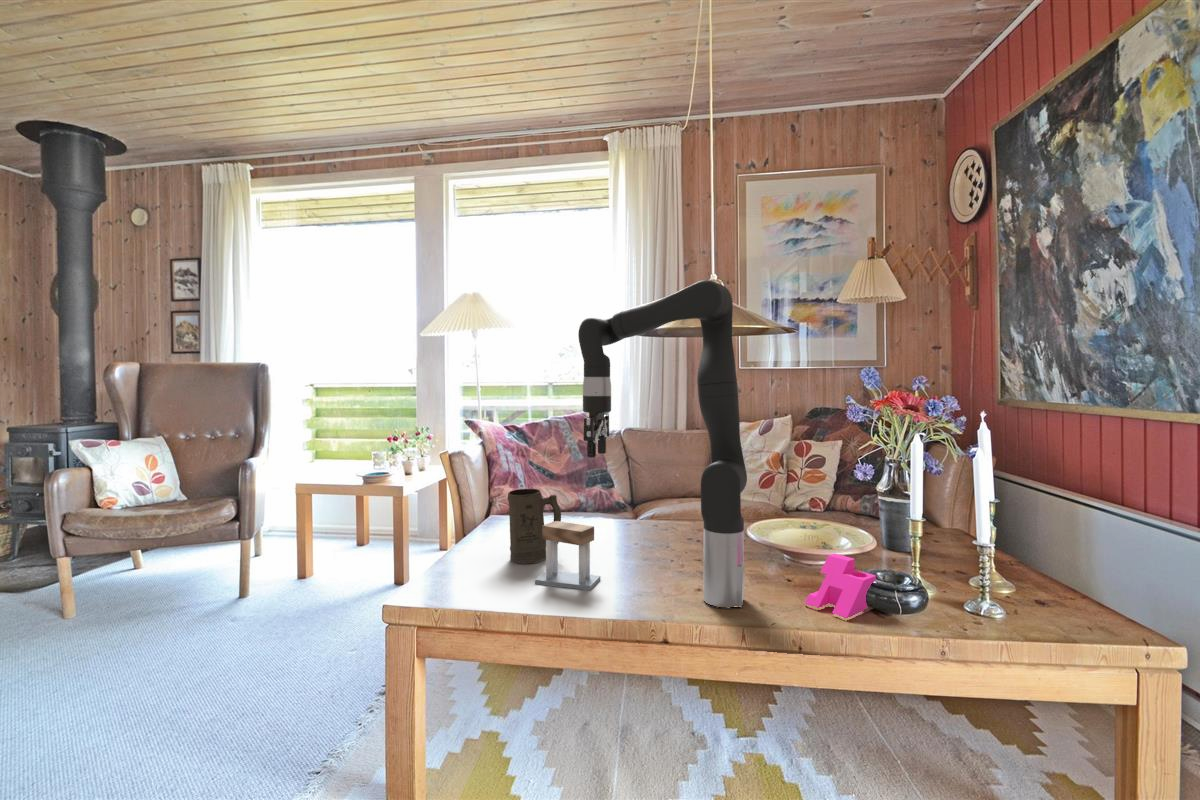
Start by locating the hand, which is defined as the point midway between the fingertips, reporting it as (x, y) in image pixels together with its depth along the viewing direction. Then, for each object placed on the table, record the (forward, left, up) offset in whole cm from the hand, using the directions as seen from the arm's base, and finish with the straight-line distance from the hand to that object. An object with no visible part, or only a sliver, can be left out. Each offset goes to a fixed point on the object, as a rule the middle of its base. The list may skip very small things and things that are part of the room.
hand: (596, 455), depth 152 cm
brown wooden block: (+5, +7, -21) cm, 23 cm away
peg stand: (+6, +7, -32) cm, 33 cm away
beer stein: (+22, -8, -32) cm, 40 cm away
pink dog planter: (-60, +3, -32) cm, 68 cm away
